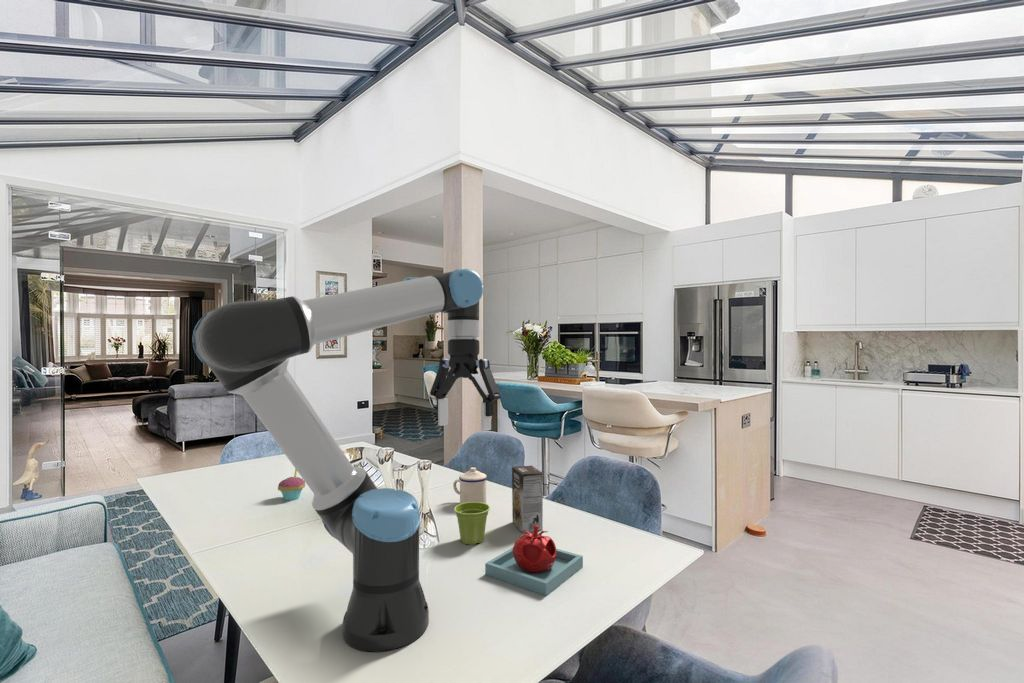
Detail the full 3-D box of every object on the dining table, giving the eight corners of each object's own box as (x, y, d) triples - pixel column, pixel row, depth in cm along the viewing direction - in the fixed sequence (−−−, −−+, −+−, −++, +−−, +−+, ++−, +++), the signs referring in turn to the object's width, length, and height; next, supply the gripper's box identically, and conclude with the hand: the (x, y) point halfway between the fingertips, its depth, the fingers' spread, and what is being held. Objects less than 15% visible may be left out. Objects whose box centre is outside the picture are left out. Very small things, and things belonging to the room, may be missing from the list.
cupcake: (297, 493, 169) (297, 459, 169) (310, 497, 164) (310, 462, 164) (272, 499, 162) (273, 464, 162) (286, 504, 157) (286, 467, 157)
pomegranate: (506, 562, 111) (505, 522, 112) (545, 555, 115) (544, 516, 115) (523, 580, 102) (522, 536, 102) (564, 571, 106) (563, 529, 106)
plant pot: (484, 549, 121) (484, 514, 121) (449, 546, 123) (449, 512, 123) (493, 535, 130) (493, 502, 130) (460, 532, 132) (460, 500, 132)
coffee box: (511, 521, 140) (511, 466, 140) (532, 519, 142) (531, 464, 142) (521, 533, 131) (521, 474, 131) (543, 530, 133) (543, 472, 133)
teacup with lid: (491, 501, 159) (491, 466, 159) (478, 509, 150) (478, 472, 151) (460, 496, 164) (460, 462, 164) (446, 504, 156) (446, 468, 156)
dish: (546, 595, 97) (546, 583, 98) (485, 574, 107) (485, 563, 107) (582, 566, 110) (582, 555, 110) (525, 550, 120) (525, 540, 120)
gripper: (515, 337, 110) (515, 430, 109) (437, 339, 124) (437, 421, 124) (495, 337, 104) (495, 435, 103) (415, 339, 118) (415, 425, 118)
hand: (463, 427), depth 114 cm, fingers open, 13 cm apart
